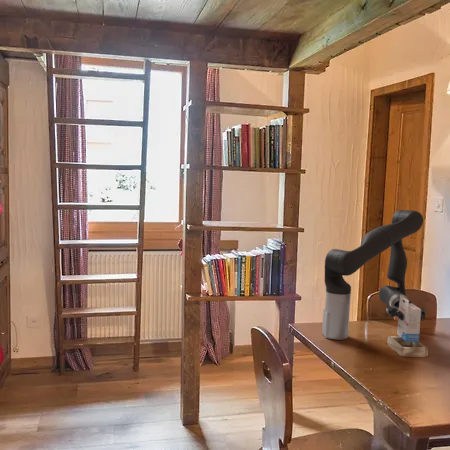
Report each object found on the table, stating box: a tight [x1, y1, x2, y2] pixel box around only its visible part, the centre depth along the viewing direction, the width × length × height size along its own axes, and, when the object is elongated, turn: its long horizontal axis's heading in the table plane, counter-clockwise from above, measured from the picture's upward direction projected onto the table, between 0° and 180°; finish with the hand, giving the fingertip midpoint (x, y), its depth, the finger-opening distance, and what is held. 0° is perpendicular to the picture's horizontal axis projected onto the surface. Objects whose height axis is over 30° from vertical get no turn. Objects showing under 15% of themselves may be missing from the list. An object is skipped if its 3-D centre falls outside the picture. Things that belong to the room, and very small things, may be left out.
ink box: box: [396, 295, 421, 342], centre depth 179 cm, size 8×5×15 cm, turn 2°
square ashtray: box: [386, 335, 429, 358], centre depth 180 cm, size 10×12×3 cm
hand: (411, 318), depth 176 cm, fingers closed on ink box, 5 cm apart
